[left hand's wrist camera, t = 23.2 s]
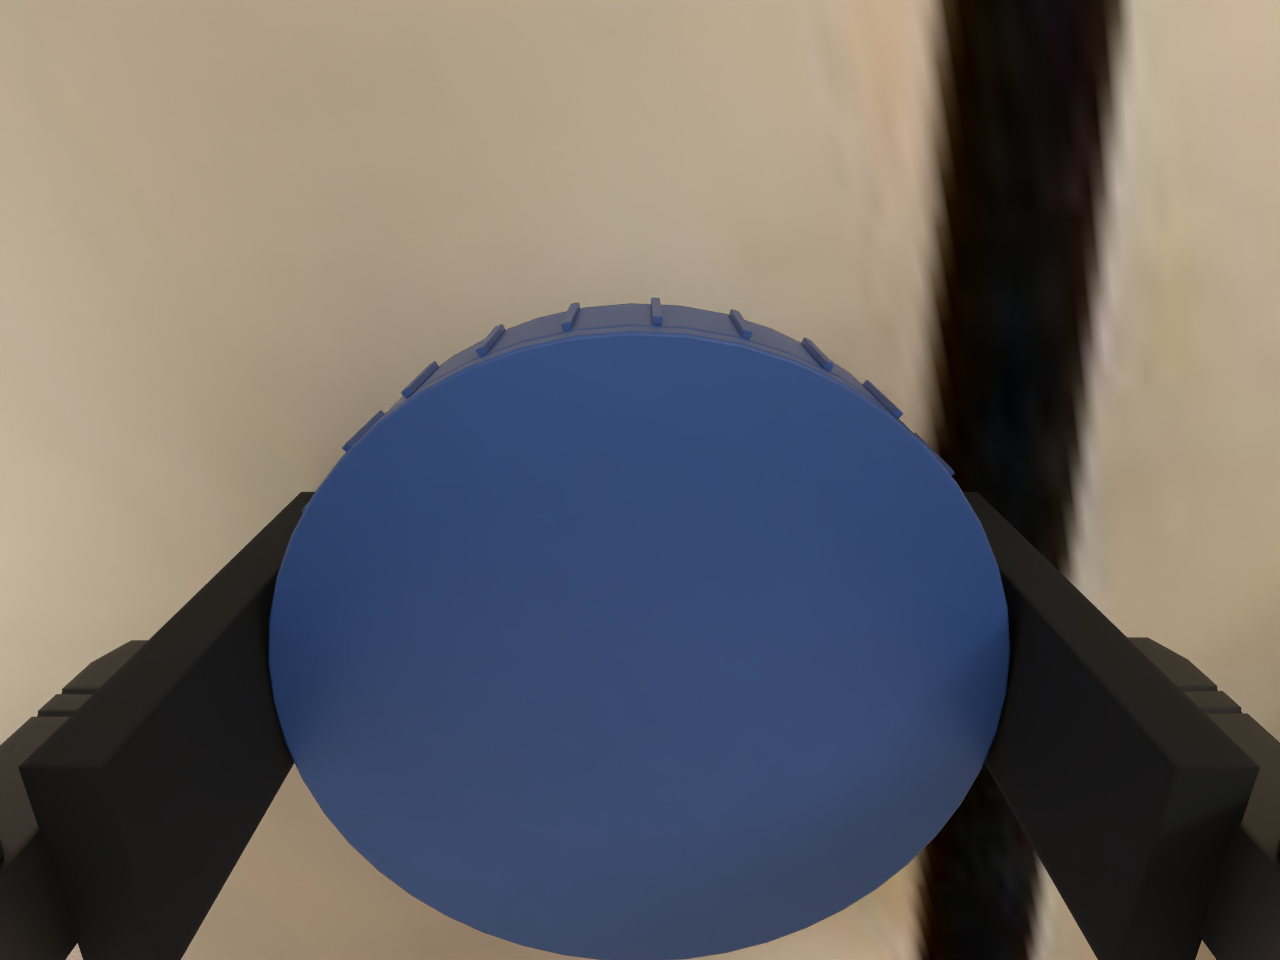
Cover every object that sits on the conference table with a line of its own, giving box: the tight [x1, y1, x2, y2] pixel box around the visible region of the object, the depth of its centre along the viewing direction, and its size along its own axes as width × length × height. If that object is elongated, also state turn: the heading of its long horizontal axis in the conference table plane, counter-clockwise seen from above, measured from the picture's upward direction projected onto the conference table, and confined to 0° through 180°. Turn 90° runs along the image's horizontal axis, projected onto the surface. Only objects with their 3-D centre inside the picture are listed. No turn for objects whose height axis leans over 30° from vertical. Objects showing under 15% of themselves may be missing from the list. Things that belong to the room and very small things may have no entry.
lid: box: [269, 298, 1010, 960], centre depth 11 cm, size 10×10×2 cm
